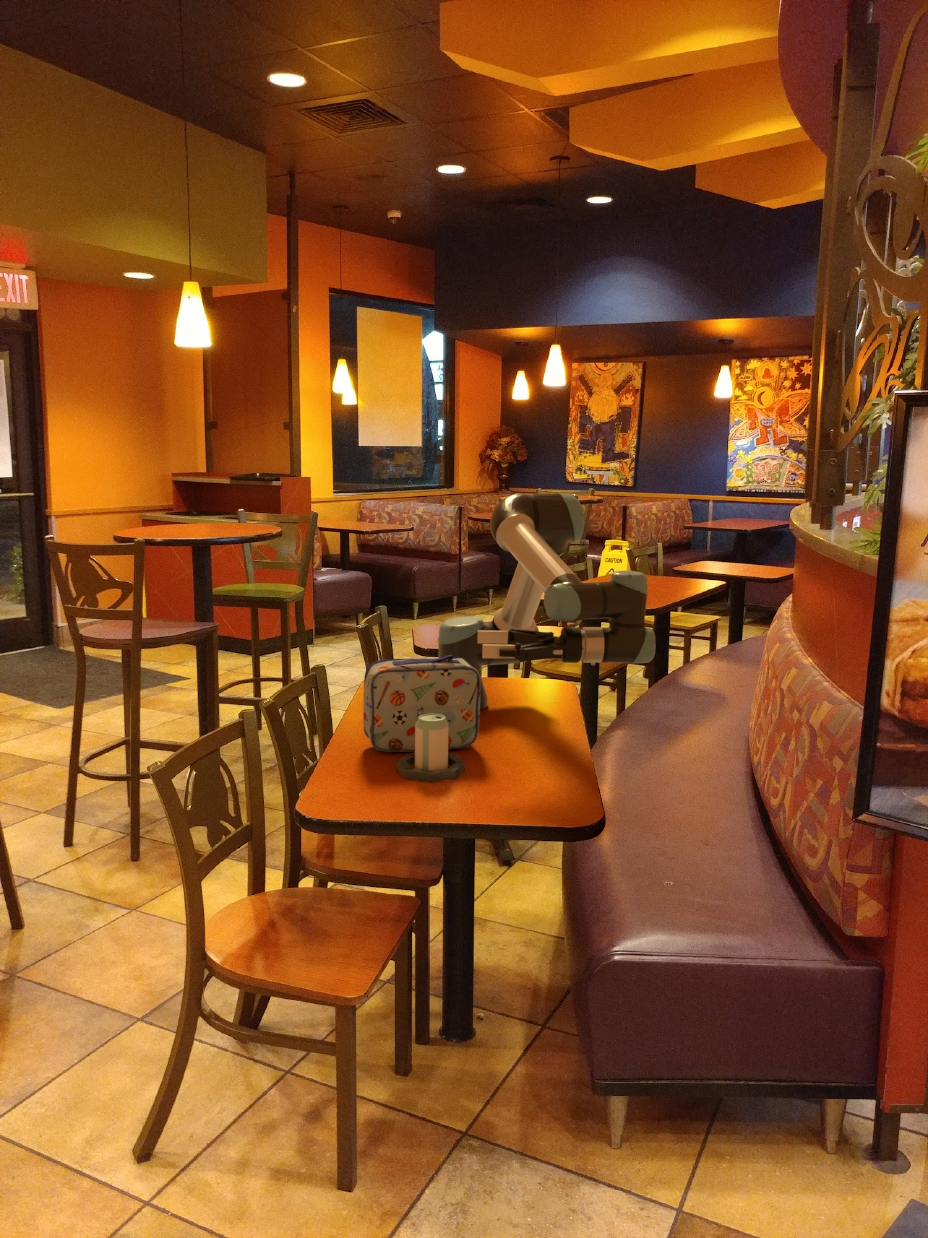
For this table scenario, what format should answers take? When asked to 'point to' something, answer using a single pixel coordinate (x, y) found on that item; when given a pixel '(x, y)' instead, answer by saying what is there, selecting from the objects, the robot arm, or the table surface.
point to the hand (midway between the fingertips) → (479, 643)
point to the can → (431, 742)
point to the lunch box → (420, 700)
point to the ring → (431, 775)
